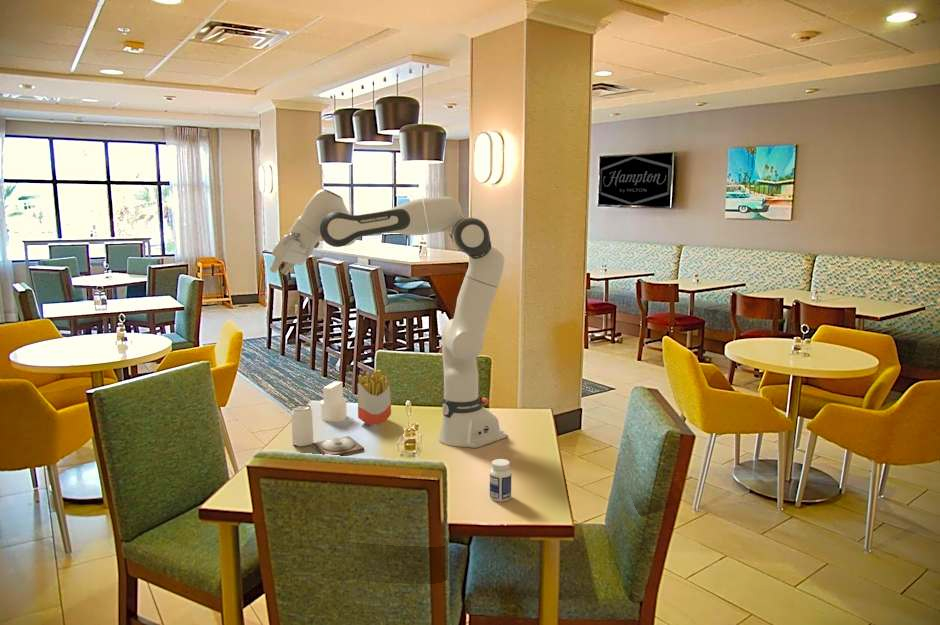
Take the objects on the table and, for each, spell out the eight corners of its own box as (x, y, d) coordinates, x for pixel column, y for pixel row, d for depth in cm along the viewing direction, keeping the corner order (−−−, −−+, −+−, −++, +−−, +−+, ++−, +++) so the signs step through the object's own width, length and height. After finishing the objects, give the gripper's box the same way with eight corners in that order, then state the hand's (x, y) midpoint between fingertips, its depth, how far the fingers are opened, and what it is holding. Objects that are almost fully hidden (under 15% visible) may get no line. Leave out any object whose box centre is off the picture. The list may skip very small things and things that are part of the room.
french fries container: (391, 421, 238) (391, 371, 235) (365, 427, 231) (364, 376, 228) (384, 417, 242) (383, 368, 239) (358, 424, 235) (357, 374, 232)
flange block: (348, 439, 221) (348, 434, 221) (364, 450, 211) (364, 445, 211) (313, 446, 214) (313, 441, 214) (327, 458, 205) (327, 453, 204)
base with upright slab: (329, 412, 248) (328, 380, 246) (351, 414, 245) (350, 382, 243) (316, 419, 239) (315, 386, 237) (338, 422, 236) (338, 389, 234)
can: (308, 448, 213) (306, 411, 211) (288, 446, 214) (287, 409, 212) (316, 440, 219) (315, 405, 217) (297, 439, 220) (296, 403, 218)
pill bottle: (510, 492, 183) (510, 457, 181) (512, 502, 177) (512, 466, 175) (488, 493, 182) (489, 457, 181) (490, 502, 177) (490, 466, 175)
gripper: (300, 237, 197) (273, 276, 198) (321, 245, 218) (297, 280, 218) (283, 225, 198) (256, 264, 198) (305, 233, 218) (281, 269, 219)
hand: (278, 272), depth 208 cm, fingers open, 8 cm apart
